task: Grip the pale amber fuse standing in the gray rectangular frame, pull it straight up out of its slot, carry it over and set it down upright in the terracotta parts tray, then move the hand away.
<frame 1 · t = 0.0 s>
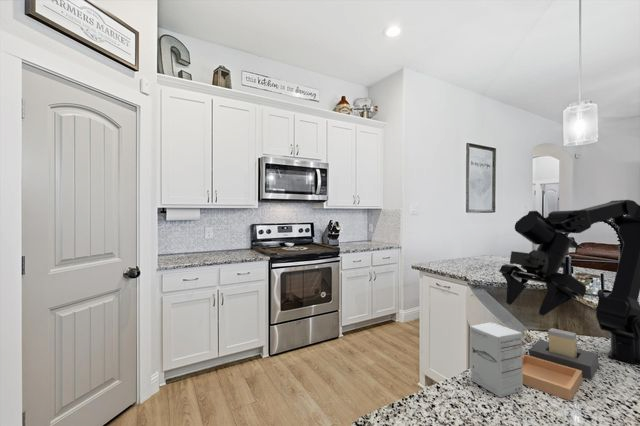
hand: (523, 309, 72), 15 cm above the countertop, tool tilted 35°, fingers open, 9 cm apart
supplement box: (496, 387, 65), on the countertop
parts tray: (543, 379, 68), on the countertop
gray rectangular frame: (563, 363, 75), on the countertop
fuse: (562, 347, 75), in the gray rectangular frame
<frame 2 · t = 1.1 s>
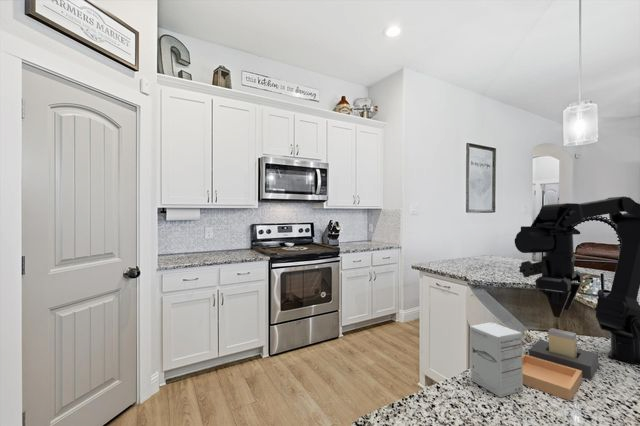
hand: (561, 313, 75), 13 cm above the countertop, tool pointing down, fingers open, 9 cm apart
nothing on the countertop moved.
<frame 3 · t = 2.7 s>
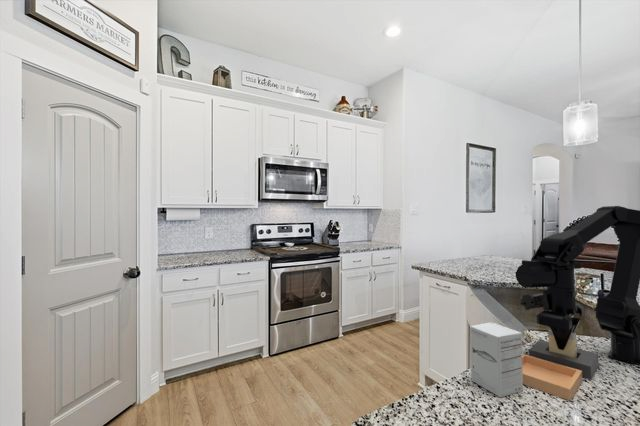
hand: (562, 347, 75), 4 cm above the countertop, tool pointing down, fingers closed on fuse, 3 cm apart
fuse: (562, 347, 75), in the gray rectangular frame, touching gripper
everything else where it was.
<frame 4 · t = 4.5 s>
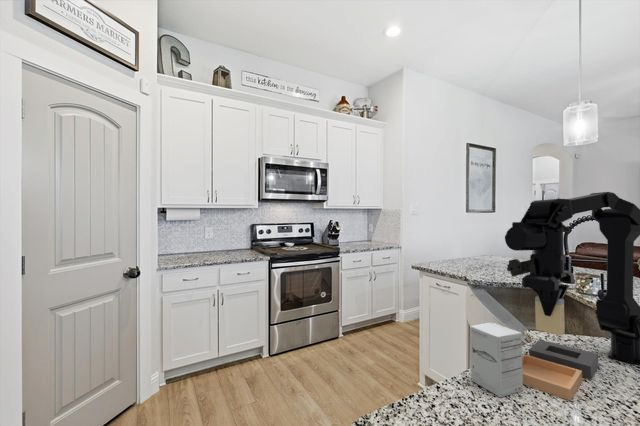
hand: (549, 314, 72), 14 cm above the countertop, tool pointing down, fingers closed on fuse, 3 cm apart
fuse: (549, 314, 72), point 14 cm above the countertop, touching gripper
everything else where it was.
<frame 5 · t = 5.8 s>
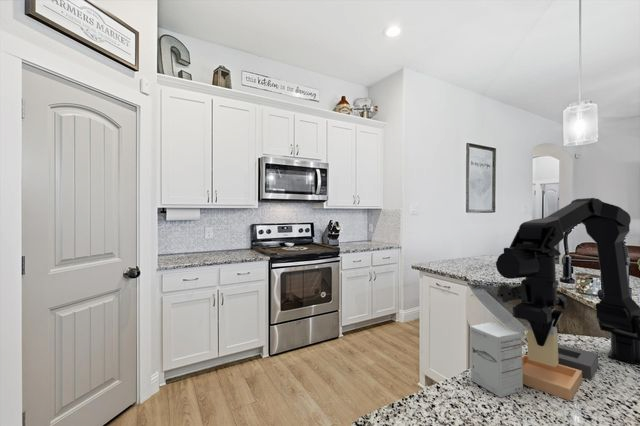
hand: (542, 343, 68), 8 cm above the countertop, tool pointing down, fingers closed on fuse, 3 cm apart
fuse: (542, 343, 68), point 8 cm above the countertop, touching gripper
everything else where it was.
when the fingers open (6 cm above the countertop, at t = 6.5 s): fuse stays where it is, resting on parts tray.
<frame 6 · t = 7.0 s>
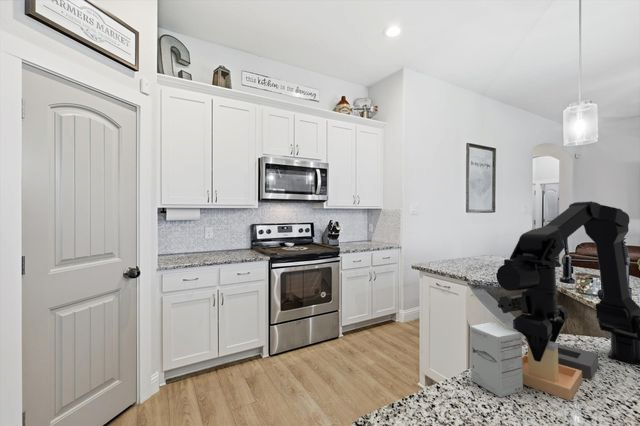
hand: (543, 355, 68), 6 cm above the countertop, tool pointing down, fingers open, 8 cm apart
fuse: (542, 359, 68), in the parts tray, point 5 cm above the countertop
everything else where it was.
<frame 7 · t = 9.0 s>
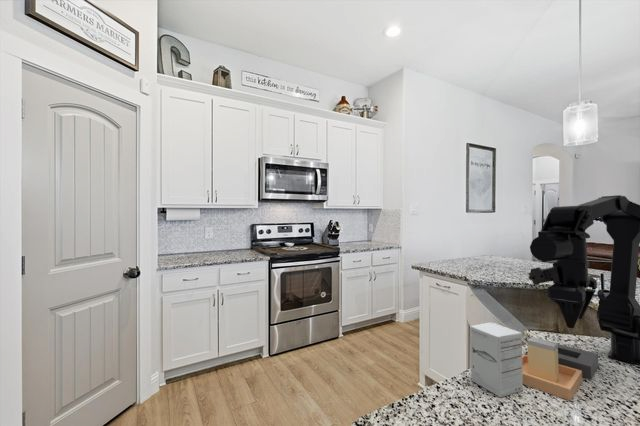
hand: (575, 323, 71), 12 cm above the countertop, tool pointing down, fingers open, 9 cm apart
nothing on the countertop moved.
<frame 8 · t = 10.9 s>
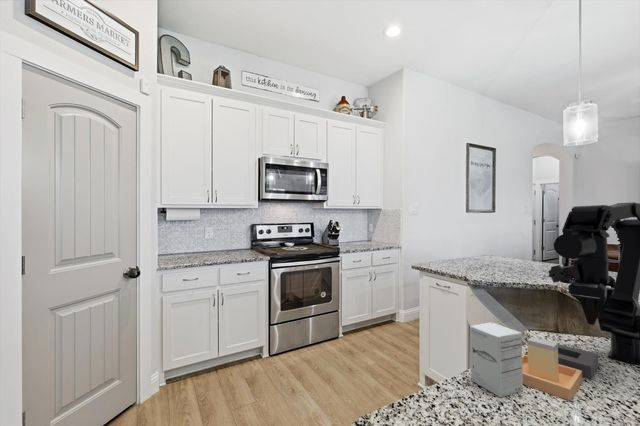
hand: (594, 320, 72), 12 cm above the countertop, tool pointing down, fingers open, 9 cm apart
nothing on the countertop moved.
at the end: fuse inside the target area on the parts tray (0.0 cm from its centre), point 4.6 cm above the parts tray's base; fuse tilted 0°; the gripper is holding nothing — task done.
